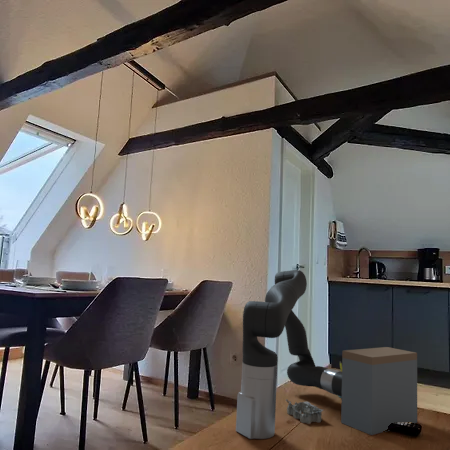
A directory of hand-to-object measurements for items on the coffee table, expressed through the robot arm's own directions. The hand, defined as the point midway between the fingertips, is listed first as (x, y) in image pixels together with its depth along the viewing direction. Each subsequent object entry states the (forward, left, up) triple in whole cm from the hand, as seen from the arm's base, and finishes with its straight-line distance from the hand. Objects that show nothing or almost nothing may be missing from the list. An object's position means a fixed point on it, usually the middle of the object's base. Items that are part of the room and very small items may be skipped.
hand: (384, 397), depth 117 cm
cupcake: (+12, +24, -8) cm, 27 cm away
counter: (0, +2, -7) cm, 8 cm away
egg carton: (-17, +15, -8) cm, 24 cm away
